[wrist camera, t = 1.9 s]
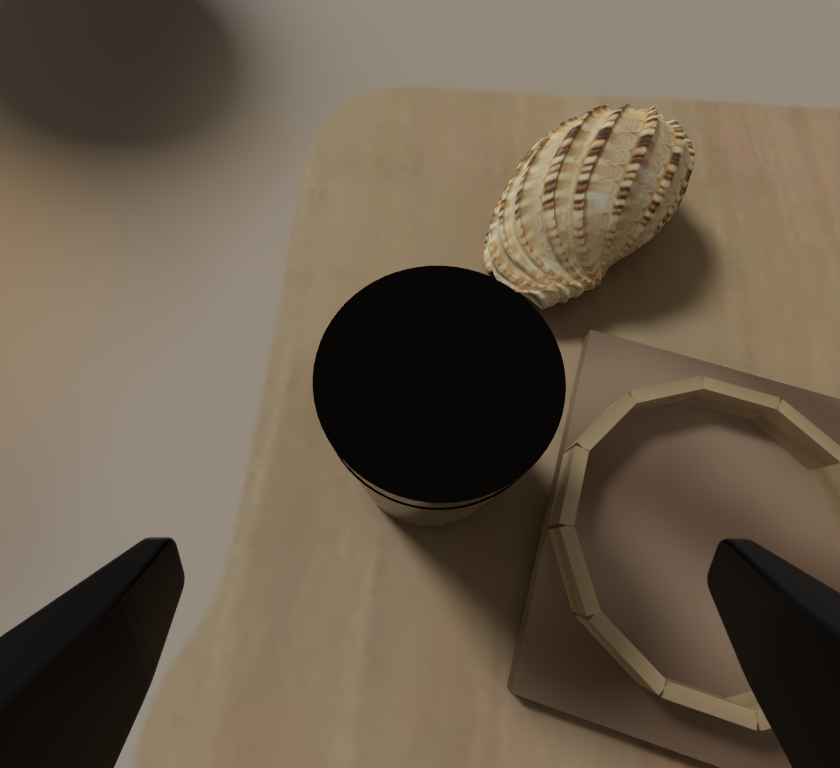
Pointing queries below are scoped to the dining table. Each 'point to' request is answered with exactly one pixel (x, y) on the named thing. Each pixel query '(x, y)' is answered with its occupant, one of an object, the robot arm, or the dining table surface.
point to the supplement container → (438, 390)
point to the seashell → (587, 201)
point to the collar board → (671, 543)
